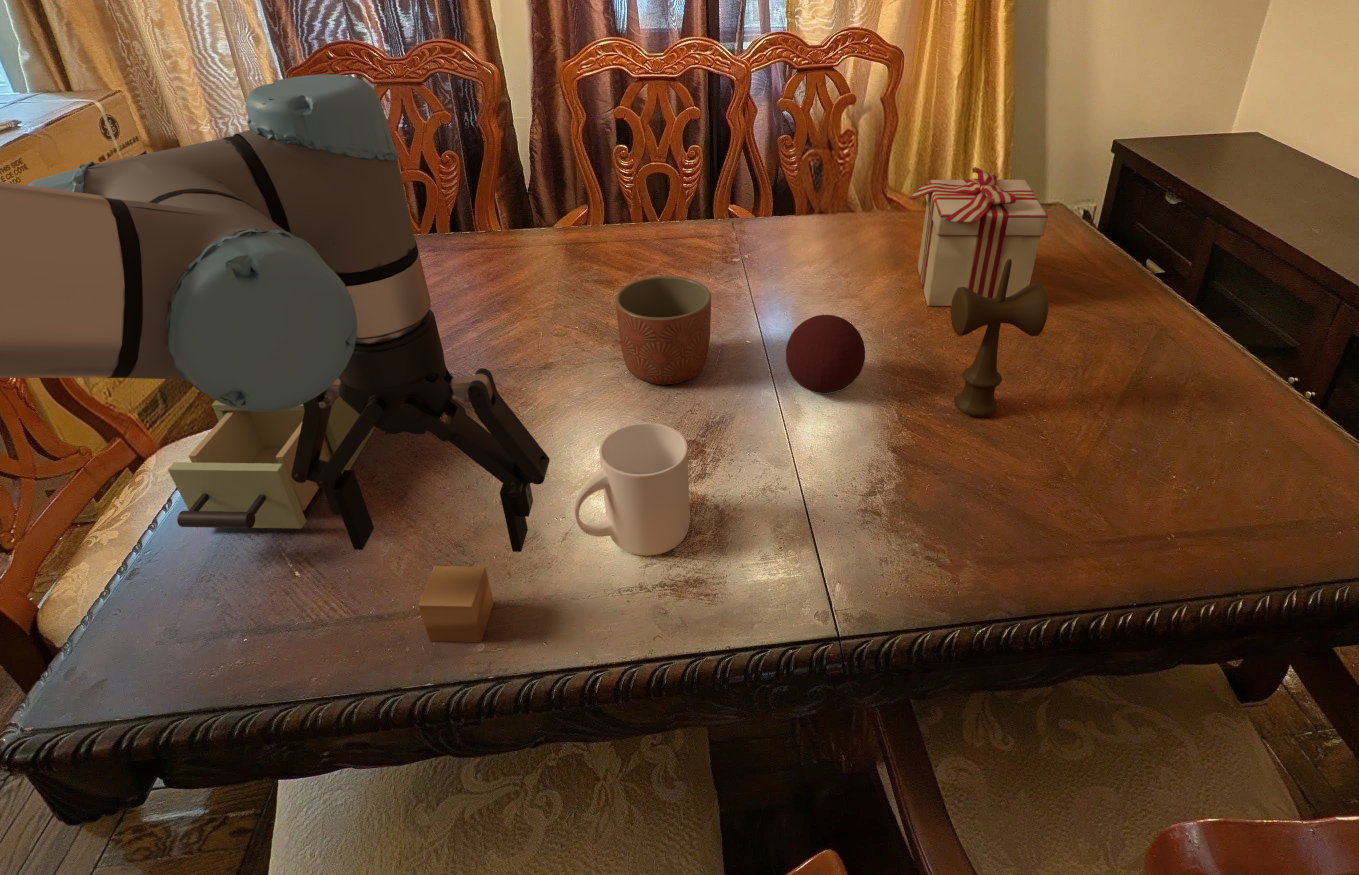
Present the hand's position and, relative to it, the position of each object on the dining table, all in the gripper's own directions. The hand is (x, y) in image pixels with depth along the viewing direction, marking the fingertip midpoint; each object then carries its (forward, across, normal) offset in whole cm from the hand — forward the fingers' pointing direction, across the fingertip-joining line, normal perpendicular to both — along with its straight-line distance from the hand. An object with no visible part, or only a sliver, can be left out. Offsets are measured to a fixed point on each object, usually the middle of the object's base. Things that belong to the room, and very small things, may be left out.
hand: (442, 539), depth 69 cm
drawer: (+9, +26, -16) cm, 32 cm away
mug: (+11, -15, -12) cm, 22 cm away
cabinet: (+10, +26, -28) cm, 40 cm away
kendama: (+11, -55, -36) cm, 67 cm away
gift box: (+11, -61, -69) cm, 93 cm away
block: (+10, 0, 0) cm, 10 cm away
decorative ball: (+11, -37, -40) cm, 56 cm away
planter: (+11, -16, -45) cm, 49 cm away
